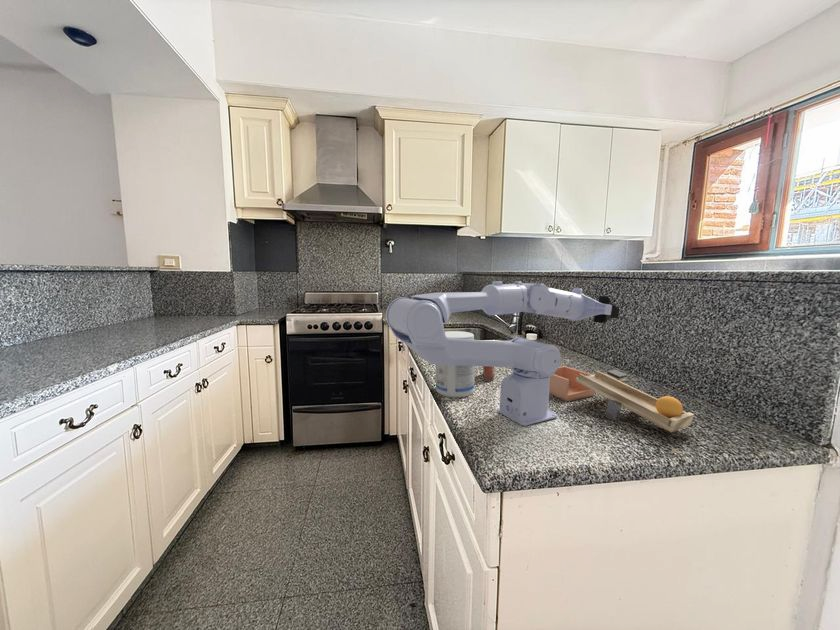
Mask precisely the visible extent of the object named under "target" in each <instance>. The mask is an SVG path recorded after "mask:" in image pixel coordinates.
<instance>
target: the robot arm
mask: <svg viewBox="0 0 840 630" xmlns="http://www.w3.org/2000/svg"><path fill="white" fill-rule="evenodd" d="M598 297H599V298H598V301H597V300H596V299H594V298H592V297H589V296H587V295H585V293H583V289H582V288H580V287H573V288H572V291H567V290H562V289H560V288H559V289H558V288H553V287H548V286H547V285H546V284H544V283H524V282H522V281H519V280H518V281H516V280H515V281H513V283H505V284H504V283H503V281H496V280H494V281H492V282H491V284H488V285H485V286H484V287H483V288H482V290H481V291H475V292H474V291H470V292H469V291H463V292H461V291H460V292H458V291H457V292H456V291H455V292H453V291H452V292H428V293H421V294H415V295H411V297H406V296H405V297H404V296H400V297H397V298H395V299H393V300H392V301H391V302H390V303H389V305H388V306H387V309H386V311H385V319H386V323H387V324H388V326H389V328H390V330H391V332H392V334H393V336H394V337H395V338H397V339H398V340H399V341H401V342H403V343H404V345H406V346H407V347H408V348H409V349H411V350H412V351H413V352H414V353H415V354H417V355H418V356H419V357H420V358H421V359H422V360H424V361H426V362H427V363H430V364H431V365H435V366H436V365H458V366H474V367H483V366H491V367H494V368H495V367H498V368H499V367H500V368H510V369H511V370H512V372H511V374H509V375H508V376H505V377H504V378H503V379H502V380H501V384H500V394H499V395H500V396H499V397H500V398H499V408H497V409H496V411H497V412H498V413H500V414H501V415H503V416H505V417H506V418H509V419H510V420H511V421H513V422H515V423H517V424H519V425H520V426H524V427H525V426H528V425H533V424H538V423H540V422H545V421H548V420H553V419H556V418H558V417H559V416H558V414H557V413H554V412H553V411H550V410H549V403H550V394H549V386H550V377H551V376H553V374H554V373H555V372H556V371H557V369H558V367H560V365H561V359H562V358H561V356H562V355H561V352H560V350H559V348H558V347H557V346H556V345H554V344H550V343H549V344H546V343H542V342H540V341H535V340H530V339H526V338H524V337H522V336H521V337H520V336H517V337H514V338H512V339H510V340H503V341H497V340H496V341H495V340H484V339H483V340H482V339H474V340H472V339H458V338H446V336H445V332H446V331H445V327H444V324H447V323H448V321H449V318H450V317H451V314H453V313H461V312H470V311H479V310H482V311H483V312H484V313H485V314H486V315H488V316H500V315H509V314H511V315H512V314H518V313H521V312H522V313H528V314H529V313H530V314H535V315H543V316H548V317H555V318H560V319H567V320H569V321H574V322H575V321H580V320H585V319H588V318H591V317H594V318H593V323H598V324H605V323H606V324H607V322H608V321H610V320H611V319H618V318H619V314H620V307H618V306H616V305H615V304H614V303H613V302H612V299H611V297H610V296H605V295H599V296H598ZM412 298H413V299H412Z"/></svg>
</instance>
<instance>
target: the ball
mask: <svg viewBox="0 0 840 630" xmlns="http://www.w3.org/2000/svg"><path fill="white" fill-rule="evenodd" d="M657 399H658V400H657V402H656V409H657V411H658V413H660V414H662V415H664V416H666V417H668V418H673V417H676V416H679V415H681V414H682V411H684V409H683V405H682V403H681V401H679V400H678V399H677V398H675V397H673V396H669V395H665V396H662V397H659V398H657Z"/></svg>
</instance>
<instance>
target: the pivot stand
mask: <svg viewBox="0 0 840 630" xmlns="http://www.w3.org/2000/svg"><path fill="white" fill-rule="evenodd" d="M606 407H607V409H606V418H607V419H609V420H611V421H614V422H618V421H621V410H622V409H621V408H622V406H621V403H620V402H617V401H614V400H610V399H609V400H607V405H606Z"/></svg>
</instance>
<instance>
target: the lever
mask: <svg viewBox="0 0 840 630" xmlns="http://www.w3.org/2000/svg"><path fill="white" fill-rule="evenodd" d="M627 378H628V374H627V373H624V372H622V371H619V370H618V369H611V370H607V373H605V372H602V371H599V370H595V373H594V374H593V375H589V376H585V375H583V374H579V376H578V378H576V382H578V383H580V384H582V385H584V386H586V387H588V388H590V389H591V390H593V391H595V393H597V394H599V395H601V396H603V397H605V398H607V399H609V400H614V401H617V402H620V403H621V407H623V408H625V409H627V410H629V411H630V412H633V413H634V414H636V415H638V416H640V417H642V418H644V419H646V420H647V421H649V422H650V423H653V424H655V425H657V427H658V426H659V427H660V428H663V429H664V430H666V431H668V432H670V433H672V432H676V431H678V430H681V429H684V428H686V427H689V426H691V424H692V422H693V419H694V416H695V413H692V412H689V411H688V412H686V411H684V410H683V411H682V414H681V415H679V416H676V417H673V418H668V417H666V416H664V415H662V414H660V413H658V411H657V409H656V402H657V400H658V399H659V398H657V397H654V396H652V395H651V394H648V393H646V392H645V391H642V390H639V389H638V388H635V387H633V386H630V385H629V384H627V383H624V381H626V380H627Z"/></svg>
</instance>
